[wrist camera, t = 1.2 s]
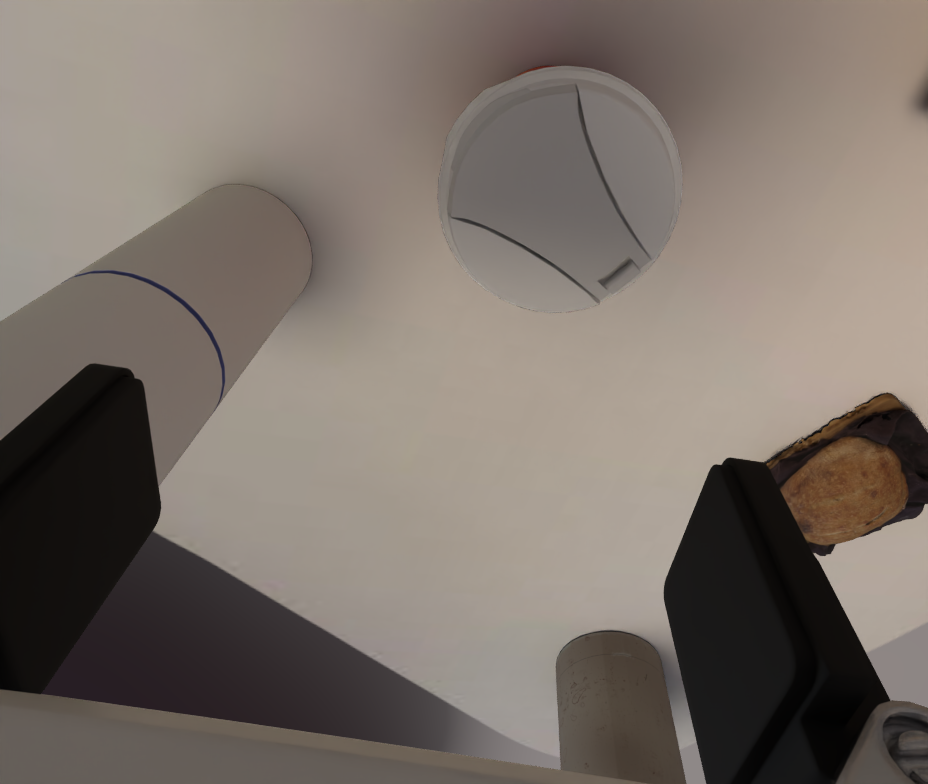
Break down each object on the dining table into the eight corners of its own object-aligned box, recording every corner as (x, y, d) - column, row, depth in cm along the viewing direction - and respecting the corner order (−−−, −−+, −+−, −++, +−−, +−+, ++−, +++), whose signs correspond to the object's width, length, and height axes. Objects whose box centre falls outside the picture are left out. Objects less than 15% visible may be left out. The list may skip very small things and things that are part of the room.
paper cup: (661, 131, 32) (744, 214, 20) (539, 240, 35) (548, 369, 23) (551, -5, 29) (571, -2, 17) (431, 125, 33) (377, 204, 21)
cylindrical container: (329, 220, 35) (32, 573, 14) (290, 330, 39) (5, 747, 17) (198, 160, 34) (-345, 441, 13) (170, 279, 38) (-292, 656, 16)
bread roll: (797, 555, 45) (817, 599, 42) (724, 481, 42) (740, 521, 39) (958, 472, 40) (995, 513, 37) (889, 382, 38) (922, 419, 34)
